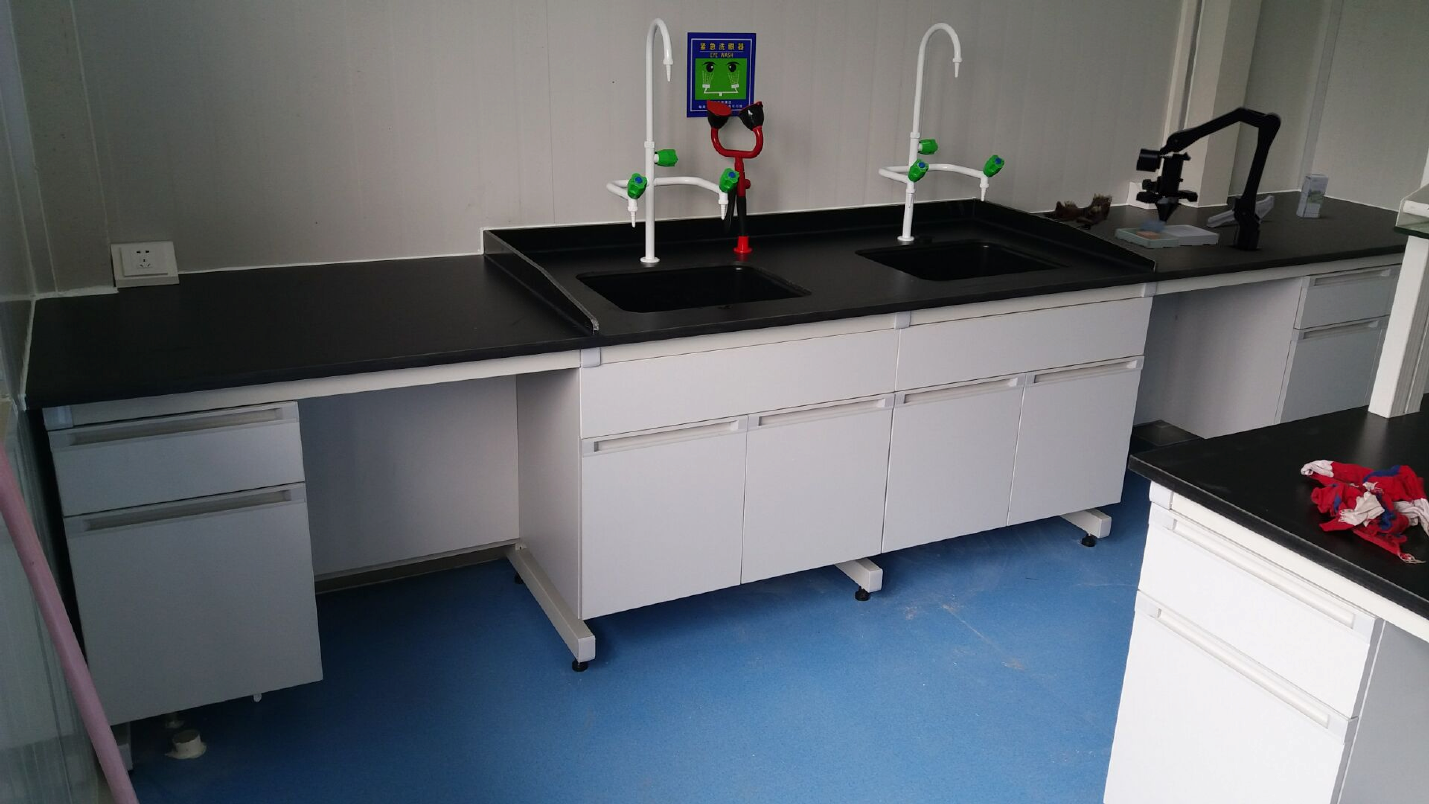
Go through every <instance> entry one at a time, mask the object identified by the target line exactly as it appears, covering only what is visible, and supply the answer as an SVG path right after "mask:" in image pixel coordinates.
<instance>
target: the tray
mask: <svg viewBox="0 0 1429 804" xmlns="http://www.w3.org/2000/svg"><path fill="white" fill-rule="evenodd" d="M1143 231H1146V230H1143V229H1141V228H1140V227H1134V228H1133V227H1130V228H1116V229H1115V232H1114V238H1116V237H1117V239H1120V240H1122V239H1124V240H1123V241H1125V240H1126V241H1125V242H1127V241H1128V243H1130V242H1133V243H1136V244H1139V245H1144V246H1146V247H1147V248H1154V249H1164V248H1163V247H1172V248H1179V246H1178V244H1179V239H1178V238H1176V239H1157V240H1149V239H1146V238H1143V237H1140V236H1137V235H1136V232H1143ZM1133 243H1132V244H1133ZM1136 244H1135V245H1136ZM1139 245H1138V246H1139ZM1147 248H1146V249H1147Z"/></svg>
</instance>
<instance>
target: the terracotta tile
mask: <svg viewBox="0 0 1429 804" xmlns="http://www.w3.org/2000/svg"><path fill="white" fill-rule="evenodd" d="M1136 235H1137V236H1140V237H1143V238H1146V239H1149V240H1157V239H1160V234H1157V233H1154V232H1151V231H1143V232H1136Z"/></svg>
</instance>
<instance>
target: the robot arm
mask: <svg viewBox="0 0 1429 804" xmlns="http://www.w3.org/2000/svg"><path fill="white" fill-rule="evenodd" d="M1239 122H1240V123H1244V124H1245V125H1249V126H1251V127H1254V128H1257V129H1258V130H1257V141H1256V148H1255V151H1254V155H1253V158H1252V163H1251V166H1250V169H1249V171H1248V172H1249V173H1248V176H1247V179H1246V184H1245V187H1244V190H1243V192H1242V194H1241V195H1239V194H1236V196H1235V198H1234V199H1235V200H1234V206H1232V209H1231V210H1232V212H1233V211H1234V219H1235V220H1234V221H1236V222H1237V223H1238V225H1237V226H1236V230H1235V231H1234V232H1235V233H1234V236H1233V241H1232V243H1229V244H1228V245H1230V246H1229V247H1232V246H1233V247H1232V248H1235V247H1236V249H1239V248H1241V249H1240V250H1242V249H1244V250H1243V251H1251V250H1250V249H1257V250H1262V247H1260V246H1258V245H1259V240H1260V235H1261V231H1262V230H1261V229H1260V226H1261V224H1262V218H1261V219H1260V217H1259V216H1258V215H1257V214H1256V213H1255V212H1256V202H1258V201H1257V200H1258V190H1259V186H1260V183H1261V180H1262V177H1263V173H1264V169H1265V166H1266V163H1267V159H1268V157H1269V156H1268V155H1269V153H1270V149H1271V146H1272V144H1273V142H1274V140H1275V138H1276V136H1277V134H1278V132H1279V130H1280V128H1281V126H1282V125H1281V124H1282V118H1281V116H1280V114H1278V113H1277V112H1267V113H1265V112H1261V111H1258V110H1254V109H1250V108H1247V107H1246V106H1242V105H1241V106H1238V107H1236V108H1235V109H1233V110H1231V111H1229V112H1226V113H1224V114H1222V115H1219V116H1218V117H1217V116H1216V117H1215V118H1213V119H1210V120H1209V121H1206V122H1204V123H1201V124H1199V125H1197V126H1194V127H1189V128H1185V129H1180V130H1178V131H1175V132H1172V133H1171V134H1170V135H1169V136H1168V137H1167V139H1166V142H1165V145H1164V146H1161V147H1160V148H1159V149H1149V148H1145V147H1143V148H1142V147H1141V148H1140V150H1139V153H1138V159H1137V160H1136V166H1135V171H1136V172H1148V173H1156V172H1157V170H1160V169H1161V173H1160V175H1158V176H1157V177H1156V180H1152V179H1151V178H1145V179H1142V181H1141V189H1142V191H1138V192H1137V194H1136V197H1135V201H1136V202H1140V203H1144V204H1147V205H1154V206H1155V208H1156V210H1157V214H1158V219H1159V220H1162V221H1164V222H1165V224H1166V223H1167V221H1168V220H1169V219H1170V217H1171V216H1172V215H1173V214H1174V212H1175V211H1176V210H1177V208H1179V206H1181V205H1182V204H1183V203H1181V202H1180V200H1187V202H1188V203H1197V202H1198V199H1199V195H1198V192H1197V191H1194V190H1193V191H1192V190H1189V189H1180V184H1181V183H1183V182H1184V178H1183V177H1182V173H1183V167H1184V161H1185V162H1186V161H1187V162H1190V161H1191V159H1192V157H1191V156H1190V154H1189V153H1188V151H1185V152H1184V153H1180V152H1182V151H1183V150H1185V149H1187V148H1188V147H1189V146H1191V145H1193V144H1195V143H1196V142H1197V141H1199V140H1201V139H1202V138H1205V137H1208V136H1209V135H1212V134H1214V133H1216V132H1218V131H1220V130H1223V129H1226V128H1228V127H1229V126H1232V125H1235V124H1237V123H1239ZM1170 153H1172V155H1168V154H1170ZM1162 160H1163V161H1162ZM1161 166H1162V168H1161ZM1179 189H1180V190H1179ZM1246 249H1247V250H1246ZM1248 249H1249V250H1248Z"/></svg>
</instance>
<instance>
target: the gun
mask: <svg viewBox="0 0 1429 804" xmlns="http://www.w3.org/2000/svg"><path fill="white" fill-rule="evenodd" d="M1274 200H1275V196H1273V195H1267V197H1266V198H1264V199H1262V200H1259V201H1257V202H1256V212H1255V213H1256V214H1257V215H1258V216H1259V217H1260V219H1261V220H1262V218H1263V217H1264V216H1265V215H1267V214H1268V212H1270V210H1272V209H1273V208H1274V205H1275V204H1274V203H1275V201H1274ZM1231 221H1236V220H1235V219H1234V211H1233V212H1232V209H1231V210H1227V211H1225V212H1222V213H1219V214H1216V215H1214V216H1209V218H1208V219H1207V224H1206V226H1207V227H1208V228H1209V227H1210V229H1213V228H1214V227H1218V226H1221V224H1223V223H1226V222H1228V223H1230V222H1231Z"/></svg>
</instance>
